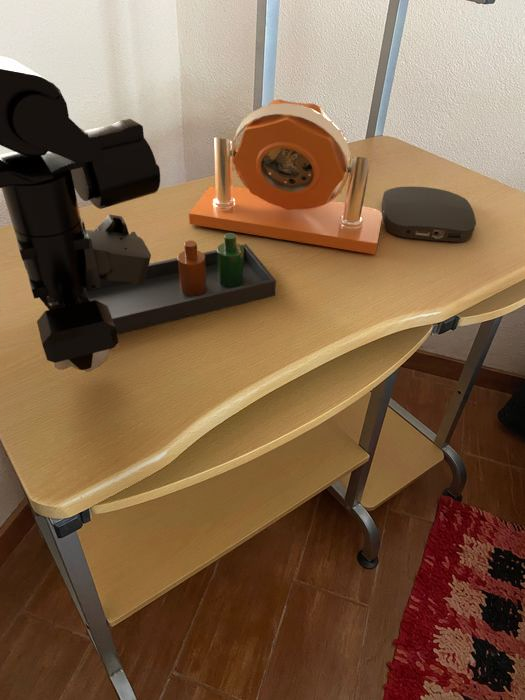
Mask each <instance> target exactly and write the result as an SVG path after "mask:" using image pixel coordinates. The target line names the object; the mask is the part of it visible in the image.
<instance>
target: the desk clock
mask: <svg viewBox="0 0 525 700" xmlns="http://www.w3.org/2000/svg"><path fill="white" fill-rule="evenodd" d="M242 131H243V132H242ZM241 133H242V136H241V138H240V143H239V145H238V139H239V136H240V134H241ZM347 140H348V139H347V138H346V137H345V134H344V131H343V130H341V128H339V126H337V125H336V124H335V123H334V122H333V120H331V119H330V118H329V116H328V115H327V114H326V113H325V112H324V111H323V109H322V108H321V106H319V105H317V104H315V103H312V102H311V103H308V102H307V103H303V102H294V101H293V102H292V101H288V100H283V99H280V98H279V99H275V100H271V102H270V103H269V104H268V105H265V106H261V107H259V108H258V109H256V110H252V111H251V113H249V114H248V115H247V116H246V117H244V118H243V120H242V121H241V122H240V124H239V125H238V127H237V130H236V131H235V135H234V138H233V141H232V140H229V139H226V138H221V137H214V138H213V142H214V143H213V144H214V145H213V146H214V147H213V148H214V149H213V150H214V180H215V181H214V184H215V185H213V186H210V187H208V188H207V189H206V191H204V193H203V194H202V196H201V197H200V198H199V200H198V201H197V202H196V203H195V205H194V206H193V207H192V209H191V210H190V211H189V212H188V220H189V225H193V226H200V227H204V228H210V229H218V230H222V231H223V230H224V231H229V232H236V233H240V234H241V233H242V234H249V235H254V236H261V237H265V238H266V237H267V238H273V239H278V240H285V241H291V242H296V243H303V244H308V245H315V246H320V247H321V246H322V247H328V248H333V249H341V250H345V251H346V250H347V251H351V252H359V253H364V254H371V255H376V251H377V246H378V241H379V236H380V232H381V231H380V230H381V224H382V221H383V216H382V211H380V210H378V209H375V208H373V207H369V206H366V205H364V200H365V196H366V191H367V184H368V178H369V173H370V167H371V162H372V160H371V159H370V158H367V157H362V156H352V155H351V148H350V147H349V144H348V141H347ZM233 170H234V172H235V174H236V176H237V178H238V179H239V180H240V182H241V184H242V185H243V186H244V187H241V186H236V185H235V186H233ZM347 180H348V182H347ZM346 183H347V189H346V195H345V201H344V202H341V201H335V200H334V199H336V198H337V197H338V196H339V194H341V193H342V191H343V189H344V187H345V185H346ZM333 200H334V201H333Z"/></svg>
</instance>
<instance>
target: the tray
mask: <svg viewBox="0 0 525 700" xmlns="http://www.w3.org/2000/svg"><path fill="white" fill-rule="evenodd" d="M240 245H241V246H242V247H243V248H244V264H243V282H242V283H241V284H240V285H238V286H236V287H226V286H223V285H221V284H220V283H219V282H218V274H217V249H214V250H210V251H205V252H202V253H203V254H204V255H205V265H206V291H205V292H204V293H202V294H200V295H197V296H189V295H185V294H183V293H182V292H181V290H180V282H179V270H178V257H177V258H175V257H174V258H170V259H166V260H161V261H156V262H155V261H154V262H151V263H150V262H149V265H148V269H147V272H146V276H145V280H144V283H143V284H141V285H133V284H132V283H129V282H118V281H108V280H103V279H101V278H100V283H101V288H97V289H92V290H88V289H87V288H85V290H86V293H87V296H88V299H89V301H93V300H97V301H99V302H101V303H103V304H105V305H107V306H108V309H109V311H110V314H111V316H112V319H113V322H114V324H115V327H116V331H117V335H119V334H124V333H127V332H131V331H135V330H140V329H143V328H147V327H152V326H156V325H160V324H164V323H168V322H172V321H177V320H180V319H184V318H189V317H192V316H193V317H194V316H196V315H201V314H205V313H210V312H214V311H217V310H221V309H225V308H230V307H234V306H237V305H241V304H247V303H250V302H254V301H259V300H261V299H262V300H263V299H267V298H270V297H274V296H276V291H277V280H276V278H275V277H274V276H273V275H272V273H271V272H270V271H269V270H268V268H266V266H265V265H264V264H263V262H261V260H260V259H259V257H258V256H257V255H256V254H255V253H254V251H253V250H252V249H251V247H249V245H248V244H247V243H244V244H240Z"/></svg>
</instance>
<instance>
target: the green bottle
mask: <svg viewBox="0 0 525 700" xmlns="http://www.w3.org/2000/svg"><path fill="white" fill-rule="evenodd" d="M241 245H242V244H240V243H237V235H236V234H235V233H234V232H227V233H225V234H224V235H223V243H220V244H219V245H218V246H217V248H216V250H217V274H218V282H219V283H220V284H221V285H223V286H226V287H236V286H238V285H240V284H241V283H242V282H243V264H244V248H243V247H242V246H241Z"/></svg>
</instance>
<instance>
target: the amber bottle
mask: <svg viewBox="0 0 525 700" xmlns="http://www.w3.org/2000/svg"><path fill="white" fill-rule="evenodd" d="M183 245H184V251H181V252H180V253H178V255H177V258H178V270H179V282H180V290H181V292H182V293H183V294H185V295H189V296H197V295H200V294H202V293H204V292H205V291H206V265H205V255H204V254H203V253H204V252H202V251H200V250H198V243H197V241H195V240H186V241H185V242H184V243H183Z"/></svg>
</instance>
